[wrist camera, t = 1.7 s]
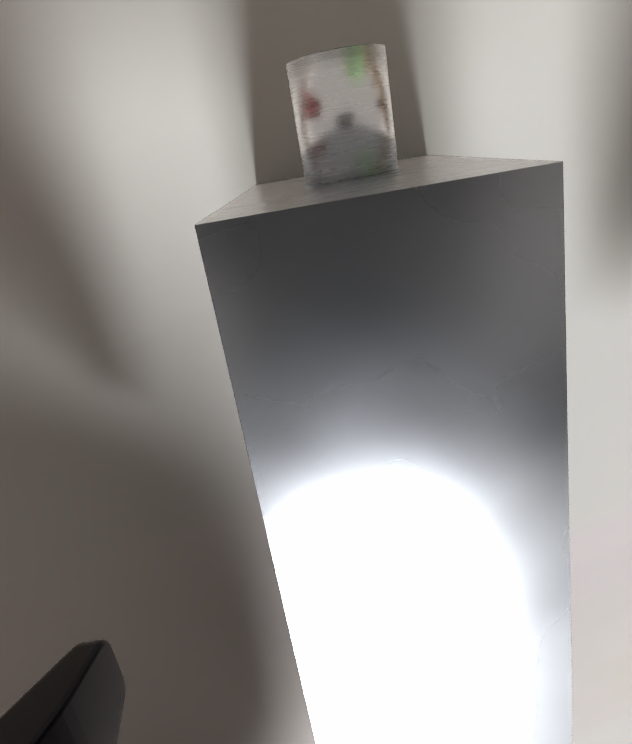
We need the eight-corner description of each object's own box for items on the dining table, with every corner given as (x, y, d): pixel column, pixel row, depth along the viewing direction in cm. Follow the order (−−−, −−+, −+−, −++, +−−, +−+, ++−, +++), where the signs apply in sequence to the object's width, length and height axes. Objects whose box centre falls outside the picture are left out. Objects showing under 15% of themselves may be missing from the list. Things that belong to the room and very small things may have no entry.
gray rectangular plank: (474, 668, 14) (576, 995, 9) (353, 683, 15) (379, 1015, 9) (417, 66, 10) (559, -45, 4) (240, 98, 10) (149, 33, 4)
